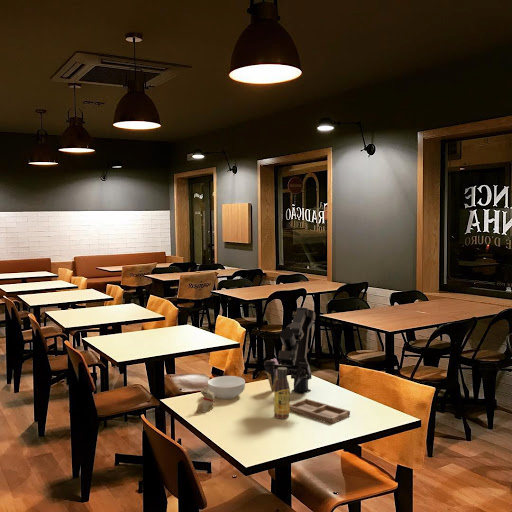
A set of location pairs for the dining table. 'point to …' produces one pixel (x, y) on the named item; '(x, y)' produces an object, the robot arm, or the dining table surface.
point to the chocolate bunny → (206, 401)
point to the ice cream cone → (275, 376)
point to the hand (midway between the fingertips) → (283, 385)
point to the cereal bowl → (226, 386)
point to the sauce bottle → (282, 394)
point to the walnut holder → (319, 410)
